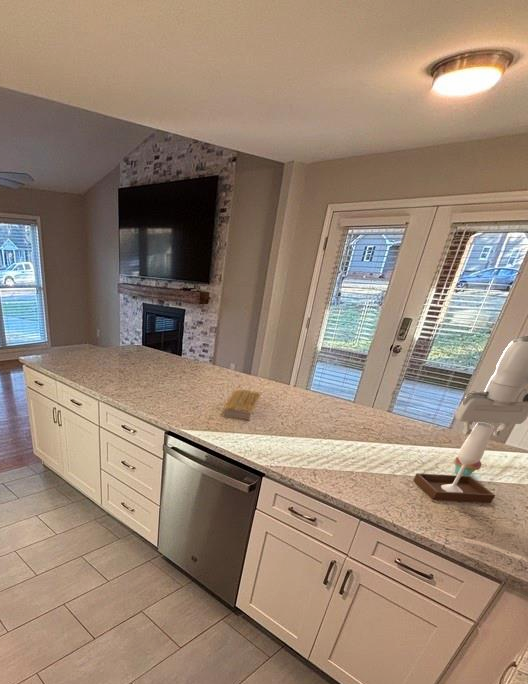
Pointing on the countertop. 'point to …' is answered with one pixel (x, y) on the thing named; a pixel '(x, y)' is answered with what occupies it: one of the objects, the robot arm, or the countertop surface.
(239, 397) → the rafter model
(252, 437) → the countertop surface
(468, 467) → the cupcake
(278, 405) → the countertop surface
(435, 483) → the tray
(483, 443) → the champagne flute
